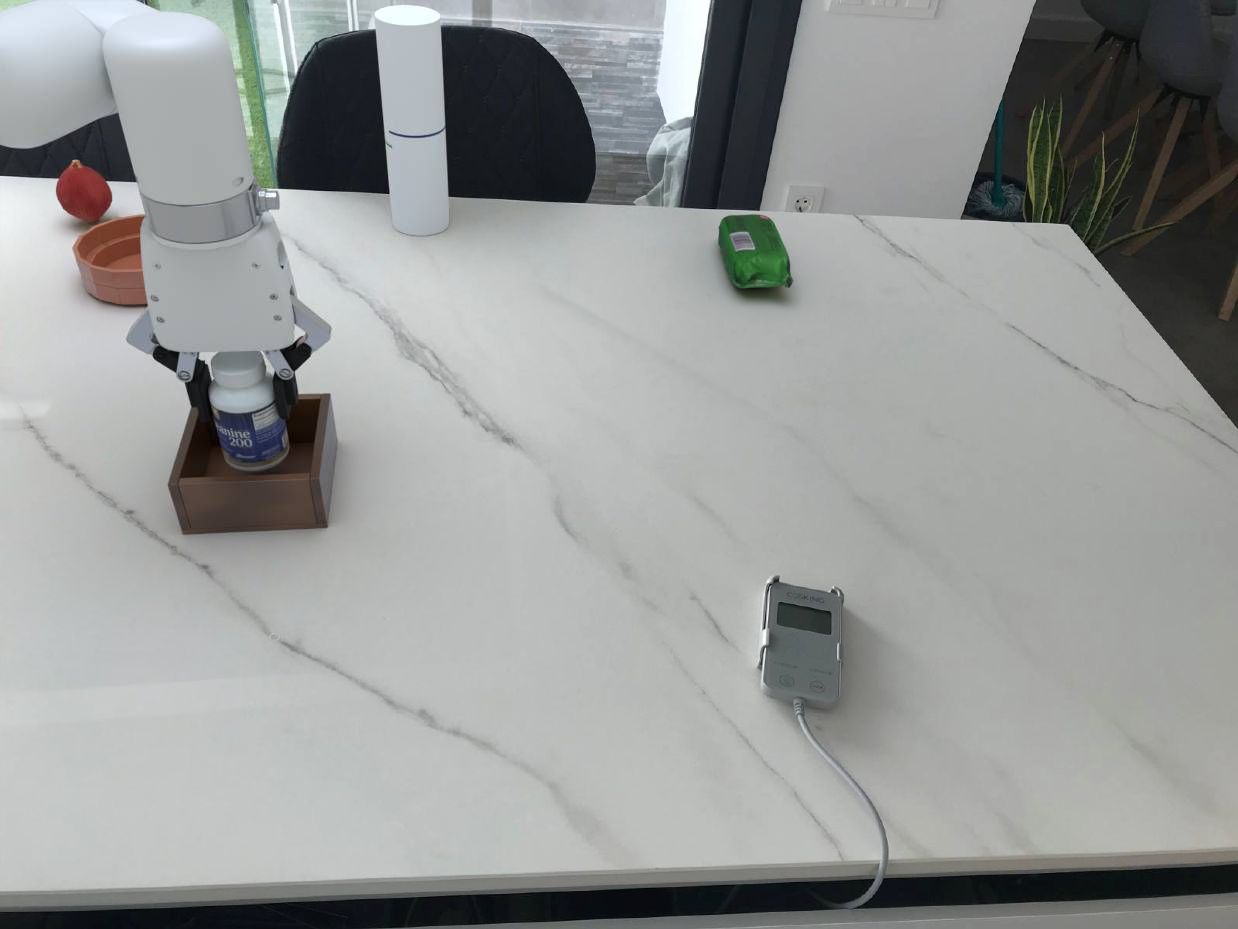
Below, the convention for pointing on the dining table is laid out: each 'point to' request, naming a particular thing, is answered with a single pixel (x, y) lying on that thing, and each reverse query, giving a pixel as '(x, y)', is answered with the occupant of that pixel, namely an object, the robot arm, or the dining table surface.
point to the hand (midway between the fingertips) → (247, 408)
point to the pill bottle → (246, 411)
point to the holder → (257, 476)
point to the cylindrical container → (413, 117)
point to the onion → (83, 193)
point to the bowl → (112, 260)
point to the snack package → (754, 252)
